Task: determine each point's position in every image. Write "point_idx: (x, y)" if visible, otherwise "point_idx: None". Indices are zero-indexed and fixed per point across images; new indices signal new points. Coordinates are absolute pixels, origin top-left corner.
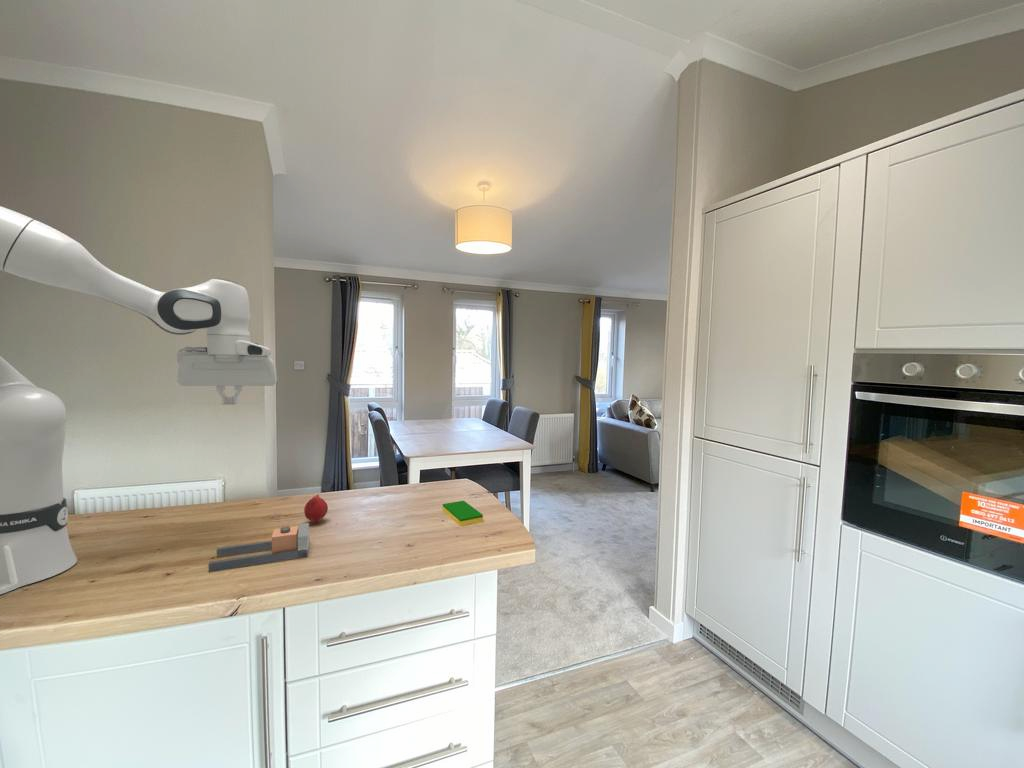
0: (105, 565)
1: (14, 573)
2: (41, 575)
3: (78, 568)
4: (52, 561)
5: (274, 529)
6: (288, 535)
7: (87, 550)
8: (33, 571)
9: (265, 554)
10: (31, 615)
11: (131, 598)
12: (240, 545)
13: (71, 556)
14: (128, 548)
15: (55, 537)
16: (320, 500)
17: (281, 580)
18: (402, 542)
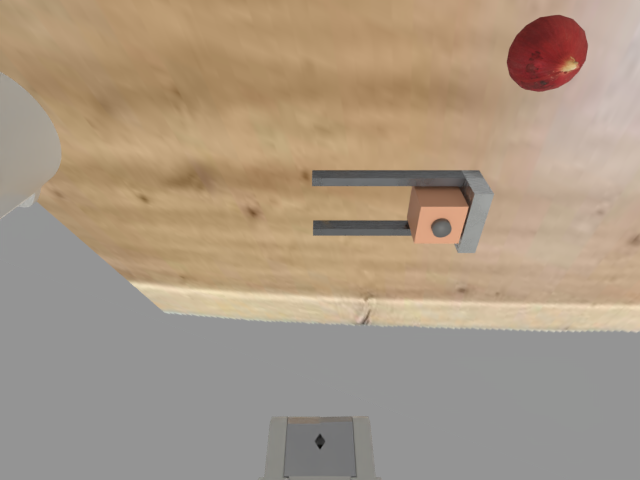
0: (117, 142)
1: (21, 202)
2: (48, 177)
3: (74, 139)
4: (39, 171)
5: (421, 209)
6: (443, 243)
7: (3, 37)
8: (36, 186)
9: (398, 232)
10: (136, 263)
11: (235, 262)
12: (352, 181)
13: (38, 130)
14: (99, 60)
15: (6, 181)
16: (570, 76)
17: (416, 278)
18: (634, 226)
